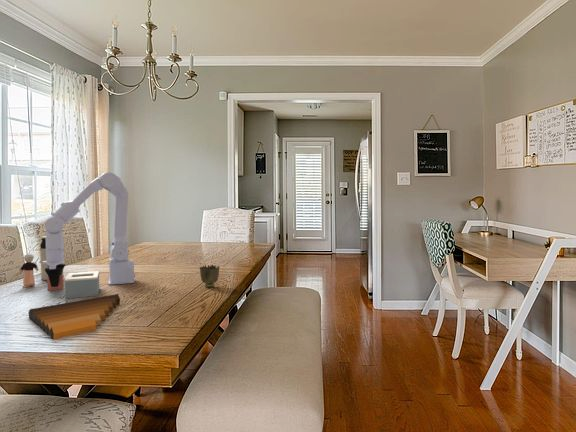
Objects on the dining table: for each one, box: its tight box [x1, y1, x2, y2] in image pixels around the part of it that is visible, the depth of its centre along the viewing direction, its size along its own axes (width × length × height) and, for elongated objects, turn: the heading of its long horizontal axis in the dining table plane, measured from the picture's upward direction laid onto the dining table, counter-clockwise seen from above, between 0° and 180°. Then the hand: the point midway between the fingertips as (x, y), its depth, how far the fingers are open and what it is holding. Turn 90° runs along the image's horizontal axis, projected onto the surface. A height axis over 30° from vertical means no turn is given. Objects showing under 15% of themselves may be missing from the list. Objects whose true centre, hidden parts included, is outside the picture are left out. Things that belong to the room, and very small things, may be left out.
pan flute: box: [28, 293, 121, 340], centre depth 117 cm, size 25×3×25 cm
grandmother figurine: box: [18, 253, 40, 288], centre depth 157 cm, size 8×4×13 cm, turn 168°
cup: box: [199, 264, 220, 289], centre depth 155 cm, size 8×7×8 cm
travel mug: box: [39, 235, 64, 281], centre depth 170 cm, size 8×8×18 cm
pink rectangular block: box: [46, 274, 65, 291], centre depth 152 cm, size 5×3×5 cm, turn 112°
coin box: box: [64, 270, 100, 299], centre depth 146 cm, size 10×12×6 cm
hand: (55, 285), depth 152 cm, fingers open, 5 cm apart
